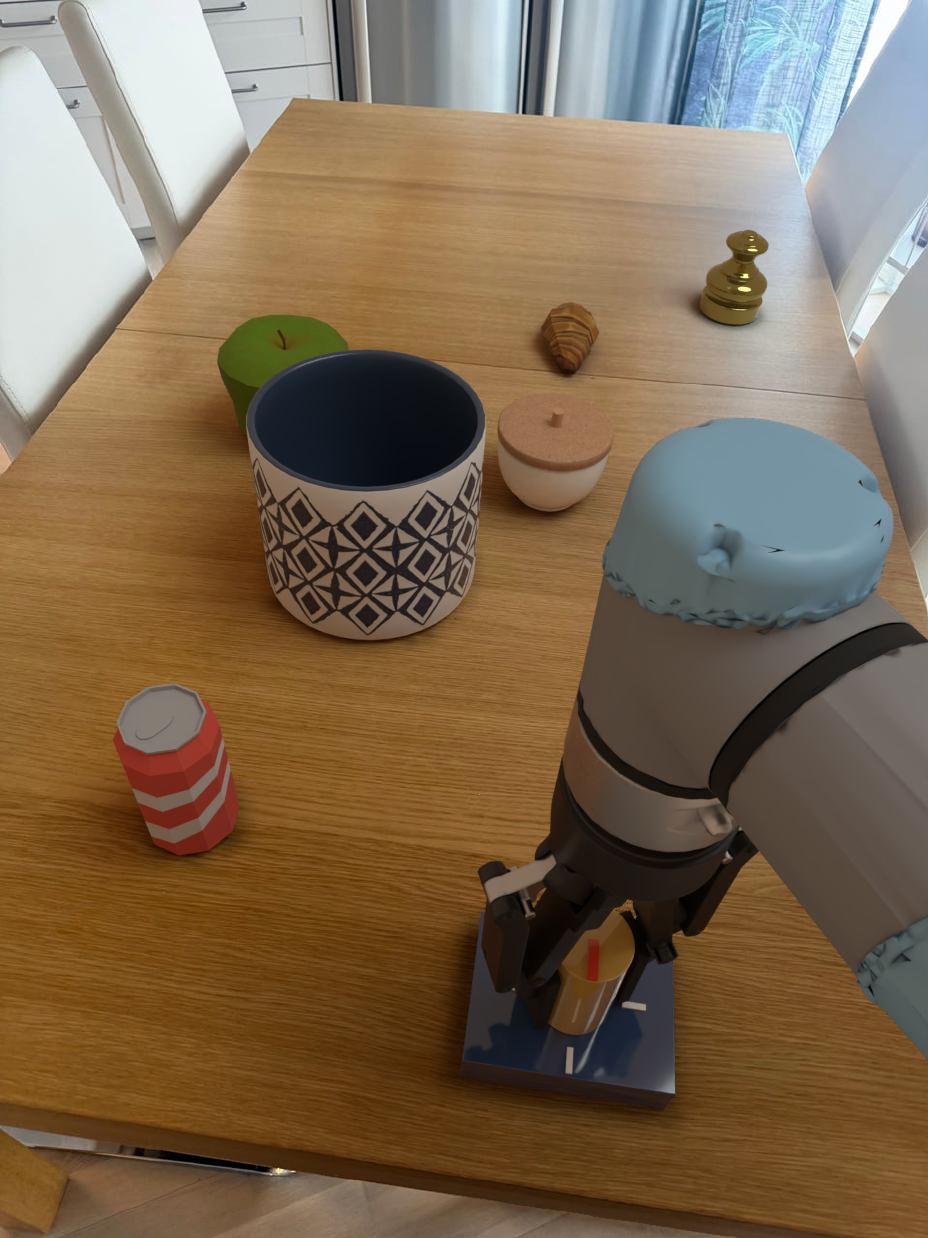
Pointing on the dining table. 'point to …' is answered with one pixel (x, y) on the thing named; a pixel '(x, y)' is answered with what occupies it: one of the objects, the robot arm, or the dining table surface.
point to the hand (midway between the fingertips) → (573, 992)
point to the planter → (368, 490)
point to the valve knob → (593, 976)
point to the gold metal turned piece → (736, 281)
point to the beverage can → (177, 768)
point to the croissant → (570, 335)
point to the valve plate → (575, 1043)
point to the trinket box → (553, 449)
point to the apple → (270, 353)
